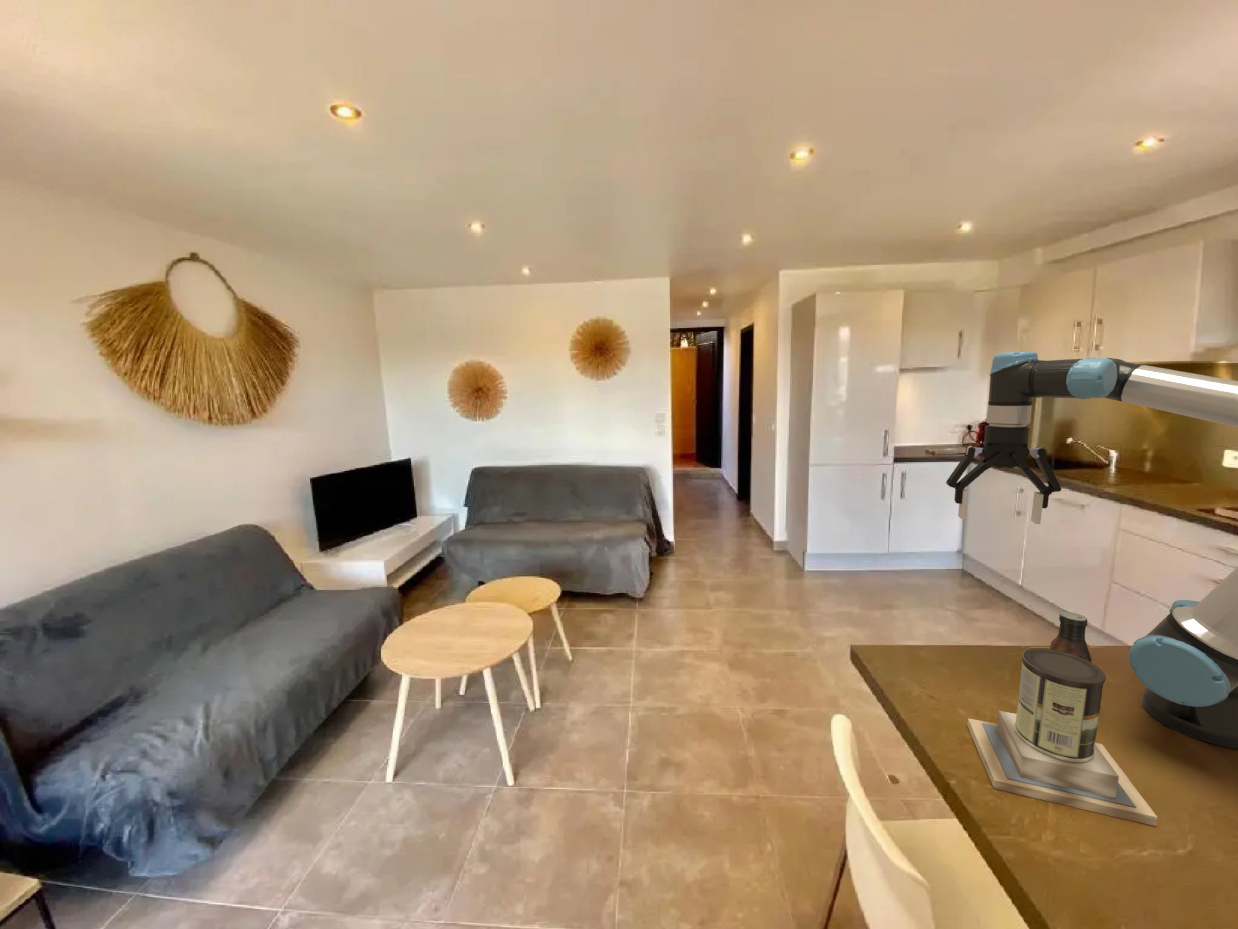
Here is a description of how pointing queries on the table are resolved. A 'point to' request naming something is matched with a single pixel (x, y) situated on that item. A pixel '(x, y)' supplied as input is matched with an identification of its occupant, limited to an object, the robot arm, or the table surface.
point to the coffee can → (1059, 704)
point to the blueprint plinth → (1057, 795)
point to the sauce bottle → (1072, 635)
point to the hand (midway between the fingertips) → (997, 520)
